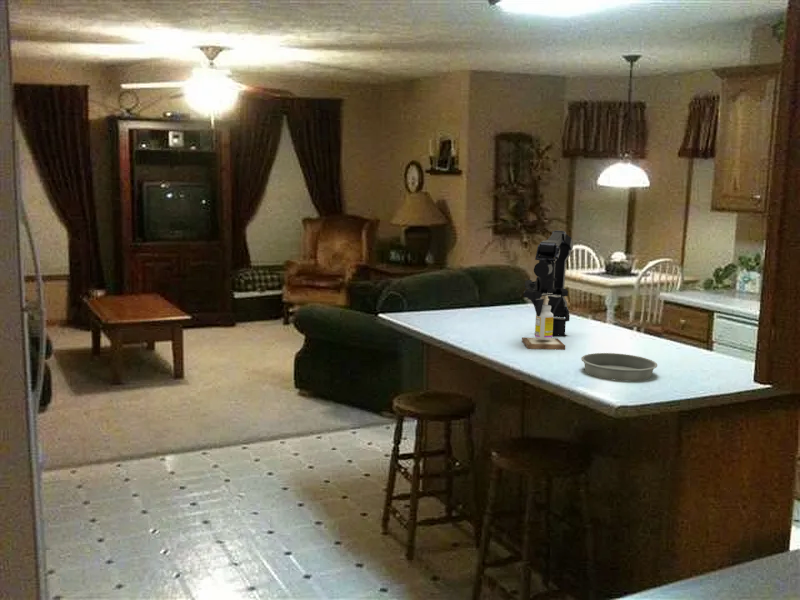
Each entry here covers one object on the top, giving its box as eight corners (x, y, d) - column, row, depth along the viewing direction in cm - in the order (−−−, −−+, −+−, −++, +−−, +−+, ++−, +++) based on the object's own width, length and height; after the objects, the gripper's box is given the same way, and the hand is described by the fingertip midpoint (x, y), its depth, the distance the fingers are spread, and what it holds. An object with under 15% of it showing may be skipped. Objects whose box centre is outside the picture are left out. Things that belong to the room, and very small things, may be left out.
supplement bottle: (554, 338, 319) (556, 305, 317) (549, 341, 313) (551, 307, 311) (537, 336, 322) (539, 303, 320) (532, 339, 316) (534, 306, 314)
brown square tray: (557, 342, 325) (557, 337, 325) (565, 349, 311) (565, 345, 311) (521, 341, 325) (522, 336, 324) (528, 348, 311) (528, 344, 311)
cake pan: (611, 385, 260) (612, 371, 259) (565, 368, 282) (566, 355, 281) (672, 379, 270) (673, 366, 269) (624, 363, 292) (625, 350, 291)
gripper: (548, 271, 326) (546, 310, 328) (514, 273, 315) (512, 314, 317) (570, 274, 317) (567, 314, 319) (535, 277, 306) (533, 318, 308)
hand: (544, 315), depth 316 cm, fingers closed on supplement bottle, 7 cm apart
